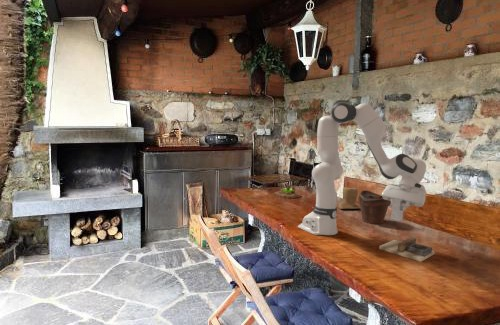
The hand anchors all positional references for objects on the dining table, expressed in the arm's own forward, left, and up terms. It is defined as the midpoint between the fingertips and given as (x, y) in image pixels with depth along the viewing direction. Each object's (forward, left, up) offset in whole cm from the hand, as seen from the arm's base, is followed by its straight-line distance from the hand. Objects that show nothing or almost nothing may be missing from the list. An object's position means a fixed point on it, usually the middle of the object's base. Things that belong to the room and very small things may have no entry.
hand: (396, 208), depth 174 cm
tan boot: (-59, +51, -20) cm, 80 cm away
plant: (-112, +46, -20) cm, 123 cm away
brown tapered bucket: (-31, +36, -20) cm, 51 cm away
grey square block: (0, +1, -5) cm, 5 cm away
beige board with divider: (+6, +1, -20) cm, 21 cm away
